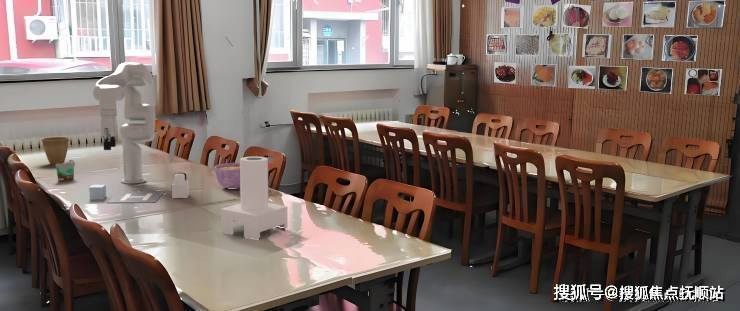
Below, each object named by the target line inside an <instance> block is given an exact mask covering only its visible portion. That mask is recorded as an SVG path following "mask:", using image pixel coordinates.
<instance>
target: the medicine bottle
mask: <svg viewBox="0 0 740 311" xmlns="http://www.w3.org/2000/svg"><path fill="white" fill-rule="evenodd" d="M189 196H190V183H189V181H188V180H187V173H185V172H175V173H174V174H173V183H172V184H171V199H173V198H187V199H188V197H189ZM173 200H174V199H173Z"/></svg>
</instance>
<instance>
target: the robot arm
mask: <svg viewBox="0 0 740 311" xmlns="http://www.w3.org/2000/svg"><path fill="white" fill-rule="evenodd" d="M152 83H153V74H152V72H151V71H150V70H149V68H148V67H147V66H146V65H145V64H144V63H140V62H123V63H122V62H121V64H118V66H117V67H116V69H115V70H114V72H113V73H112V74H110V75H108V76H105V77H103V78H100V79H99V80H98V81H97V82H96V83H95V85H94V87H93V89H92V90H93V91H92V96H93V97H94V99H95V100H96V101H98V104H99V105H98V108H99V117H101V118H100V137H101V138H102V139H103V140H102V141H103V151H111V150H112V148H114V147H115V148H116V146H117V145H116V144H117V143H116V135H117V134H116V131H117V130H116V126H117V125H116V116H117V114H118V112H117V102H120V101H122V100H124V107H123V109H124V110H123V116H124V119H125V121H128V122H131V123H125V124H122V125H121V126H120V129H119V134H120V138H121V145H122V161H123V163H122V164H123V178H122V179H120V182H121V183H122V184H130V185H131V184H134V185H135V184H141V183H144V182H146V181H147V180H146V177H143V155H142V154H143V153H142V152H143V151H142V147H141V145H140V144H139V143H138V142H152V141H153V140H154V138H155V136H156V134H155V132H156V109H155V106H154V105H152V104H149V103H142V99H143V98H142V97H143V96H142V93H141V92H140V91H139V89H138V88H137V87H150V85H152ZM132 122H144V123H132Z"/></svg>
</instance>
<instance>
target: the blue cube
mask: <svg viewBox="0 0 740 311" xmlns="http://www.w3.org/2000/svg"><path fill="white" fill-rule="evenodd" d="M88 190H89V191H88V192H89V200H104V199H105V198H107V186H106V184H91V186H89V187H88Z"/></svg>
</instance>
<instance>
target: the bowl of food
mask: <svg viewBox="0 0 740 311" xmlns="http://www.w3.org/2000/svg"><path fill="white" fill-rule="evenodd" d="M213 167H214V173H215V176H216V180H217V182H218V184H219V186H221V187H223V188H225V189H226V188H240V162H231V163H229V162H227V163H220V164H216V165H214V166H213Z"/></svg>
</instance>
